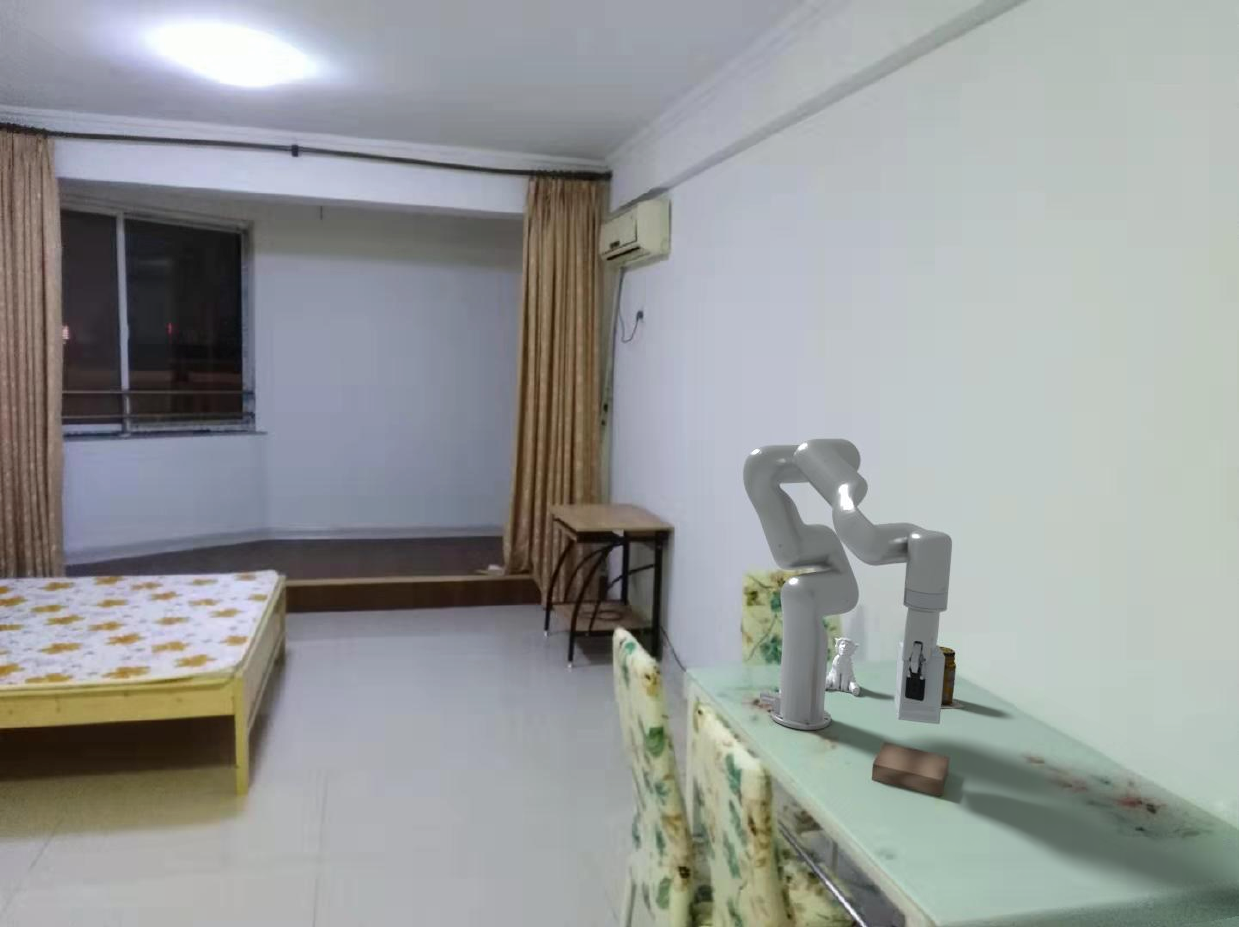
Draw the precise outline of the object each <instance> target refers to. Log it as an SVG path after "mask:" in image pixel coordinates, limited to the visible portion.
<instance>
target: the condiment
mask: <svg viewBox="0 0 1239 927" xmlns="http://www.w3.org/2000/svg"><path fill="white" fill-rule="evenodd" d="M939 647H940V649H941V651H942V652H943V654H944V656H945V664H944V676H943V689H942V701H941V709H957V708H958V709H959V708H960V709H961V708H965V705H964V704H961V703H960V702H958V701H957V700H955V699H953V698H954V691H955V680H956V672H957V671H956V670H957V664H956V662H955V660H956V651H955V650H954V649H952V648H949V647H945V646H939Z"/></svg>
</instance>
